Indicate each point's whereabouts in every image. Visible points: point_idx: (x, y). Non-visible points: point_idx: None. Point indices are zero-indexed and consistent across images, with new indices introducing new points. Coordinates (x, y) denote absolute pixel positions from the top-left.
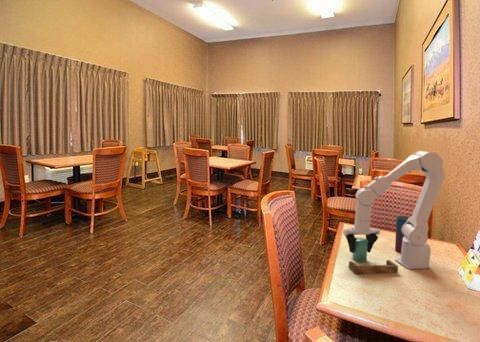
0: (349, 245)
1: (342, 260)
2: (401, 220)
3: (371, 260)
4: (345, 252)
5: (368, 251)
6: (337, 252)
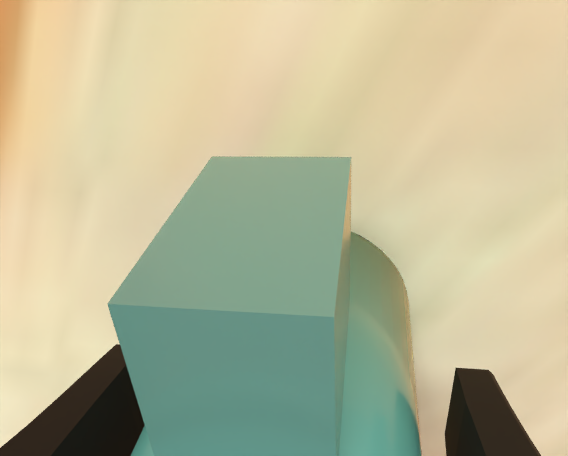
0: (45, 436)
1: (59, 305)
2: None
3: (472, 352)
4: (176, 44)
5: (447, 445)
6: (19, 38)
